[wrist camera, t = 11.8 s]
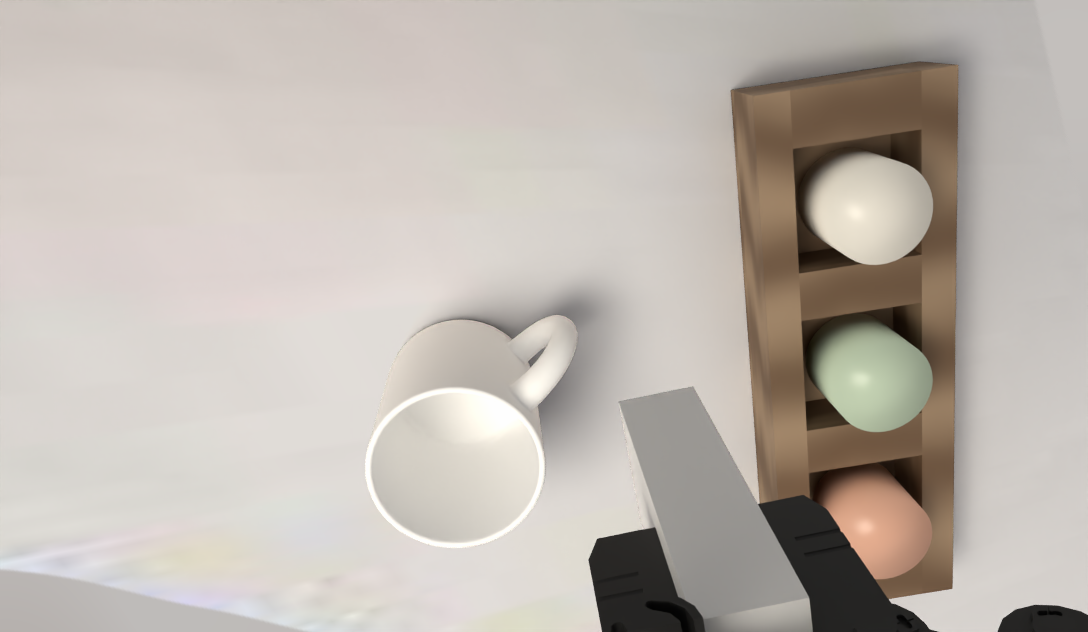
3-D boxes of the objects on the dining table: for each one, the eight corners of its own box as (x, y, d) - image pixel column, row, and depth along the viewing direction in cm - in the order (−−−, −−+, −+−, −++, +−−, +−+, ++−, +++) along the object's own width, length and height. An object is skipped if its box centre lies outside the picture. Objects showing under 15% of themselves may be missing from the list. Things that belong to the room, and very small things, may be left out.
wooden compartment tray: (730, 90, 46) (752, 96, 42) (919, 61, 46) (958, 64, 42) (764, 574, 55) (785, 615, 52) (920, 550, 55) (952, 588, 52)
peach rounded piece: (810, 466, 51) (839, 506, 46) (895, 453, 51) (932, 491, 46) (814, 540, 52) (842, 585, 48) (896, 527, 52) (932, 571, 48)
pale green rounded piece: (803, 320, 48) (833, 349, 43) (894, 306, 48) (932, 333, 44) (807, 403, 49) (837, 439, 45) (894, 390, 49) (932, 424, 45)
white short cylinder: (795, 155, 45) (827, 169, 41) (891, 141, 45) (933, 153, 41) (800, 249, 46) (831, 272, 42) (892, 235, 46) (933, 256, 42)
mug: (517, 241, 48) (525, 297, 38) (613, 347, 50) (644, 426, 40) (358, 379, 50) (326, 466, 40) (457, 475, 52) (450, 580, 42)
